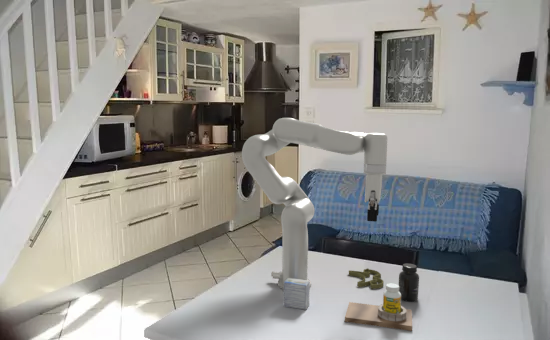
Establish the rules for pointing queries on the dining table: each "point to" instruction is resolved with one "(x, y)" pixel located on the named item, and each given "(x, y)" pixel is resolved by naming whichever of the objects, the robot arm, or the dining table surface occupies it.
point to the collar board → (378, 316)
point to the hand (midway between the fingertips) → (372, 218)
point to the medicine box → (296, 293)
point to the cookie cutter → (367, 273)
